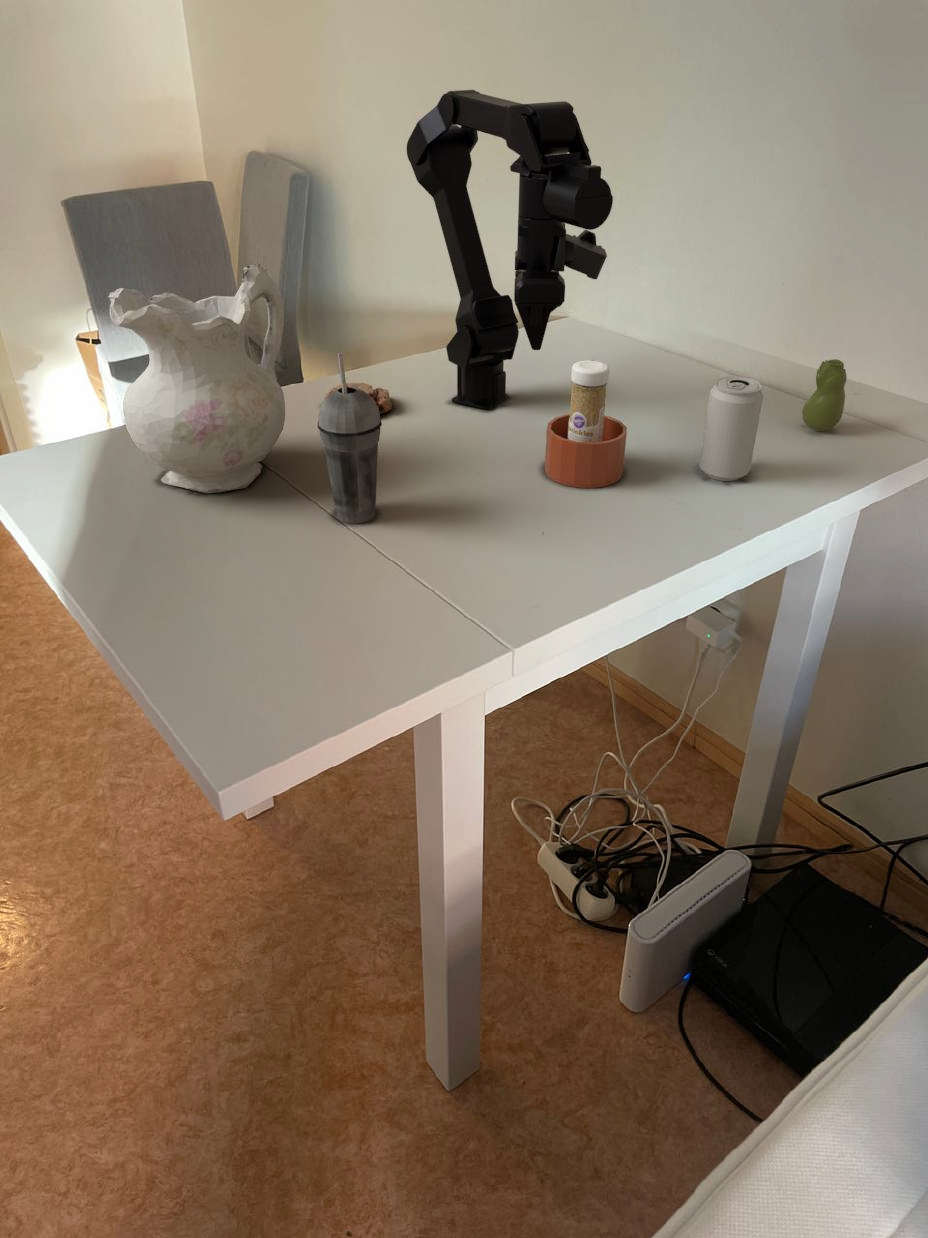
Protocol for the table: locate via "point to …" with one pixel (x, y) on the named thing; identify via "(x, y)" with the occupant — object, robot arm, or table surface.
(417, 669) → the table surface
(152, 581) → the table surface
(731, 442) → the beverage can
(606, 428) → the bowl
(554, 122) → the robot arm
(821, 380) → the pear
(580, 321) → the table surface
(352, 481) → the beverage cup
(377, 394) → the cookie
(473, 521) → the table surface
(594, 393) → the sprinkles bottle
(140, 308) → the ceramic pitcher
